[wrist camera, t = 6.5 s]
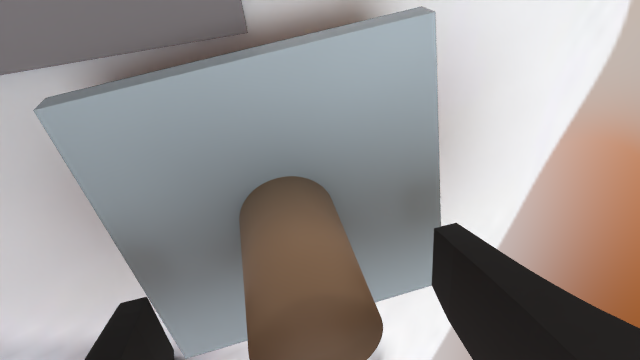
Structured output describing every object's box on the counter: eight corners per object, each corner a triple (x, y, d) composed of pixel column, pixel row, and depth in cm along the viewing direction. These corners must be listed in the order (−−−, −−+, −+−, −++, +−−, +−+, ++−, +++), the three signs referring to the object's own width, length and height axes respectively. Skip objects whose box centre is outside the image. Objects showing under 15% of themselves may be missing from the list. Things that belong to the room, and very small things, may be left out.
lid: (187, 339, 15) (174, 507, 11) (45, 97, 10) (-91, 233, 6) (432, 267, 16) (514, 396, 11) (421, 6, 11) (563, 62, 6)
